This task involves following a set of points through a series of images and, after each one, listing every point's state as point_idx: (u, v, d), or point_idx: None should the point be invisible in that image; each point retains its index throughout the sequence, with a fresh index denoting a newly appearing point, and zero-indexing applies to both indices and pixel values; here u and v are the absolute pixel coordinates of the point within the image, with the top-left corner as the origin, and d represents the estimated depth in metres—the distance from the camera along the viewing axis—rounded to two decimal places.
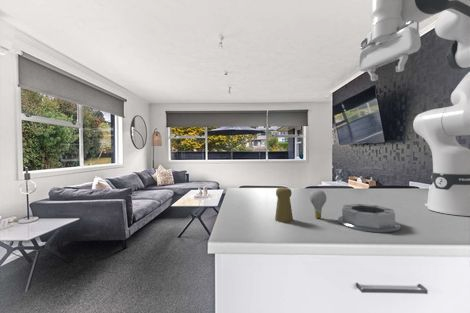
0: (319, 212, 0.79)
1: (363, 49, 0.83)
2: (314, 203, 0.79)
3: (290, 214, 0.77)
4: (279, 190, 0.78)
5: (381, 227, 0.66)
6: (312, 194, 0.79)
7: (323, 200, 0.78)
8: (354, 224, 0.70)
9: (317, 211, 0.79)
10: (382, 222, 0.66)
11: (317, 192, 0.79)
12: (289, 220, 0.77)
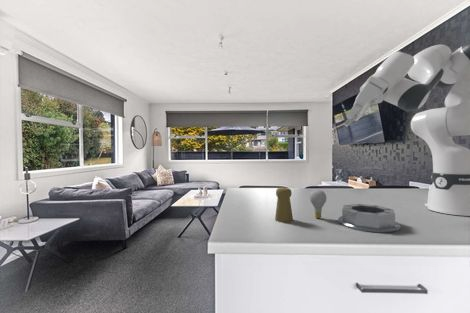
0: (319, 212, 0.79)
1: (380, 92, 0.76)
2: (314, 203, 0.79)
3: (290, 214, 0.77)
4: (279, 190, 0.78)
5: (381, 227, 0.66)
6: (312, 194, 0.79)
7: (323, 200, 0.78)
8: (354, 224, 0.70)
9: (317, 211, 0.79)
10: (382, 222, 0.66)
11: (317, 192, 0.79)
12: (289, 220, 0.77)
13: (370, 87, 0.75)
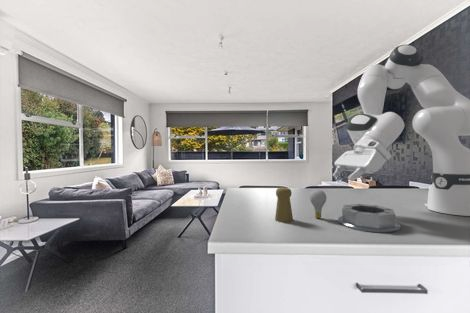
0: (319, 212, 0.79)
1: None
2: (314, 203, 0.79)
3: (290, 214, 0.77)
4: (279, 190, 0.78)
5: (381, 227, 0.66)
6: (312, 194, 0.79)
7: (323, 200, 0.78)
8: (354, 224, 0.70)
9: (317, 211, 0.79)
10: (382, 222, 0.66)
11: (317, 192, 0.79)
12: (289, 220, 0.77)
13: (378, 156, 0.73)
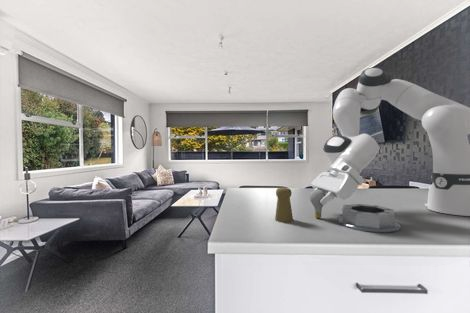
0: (319, 212, 0.79)
1: None
2: (314, 203, 0.79)
3: (290, 214, 0.77)
4: (279, 190, 0.78)
5: (381, 227, 0.66)
6: (312, 194, 0.79)
7: None
8: (354, 224, 0.70)
9: (317, 211, 0.79)
10: (382, 222, 0.66)
11: (317, 192, 0.79)
12: (289, 220, 0.77)
13: (351, 182, 0.71)
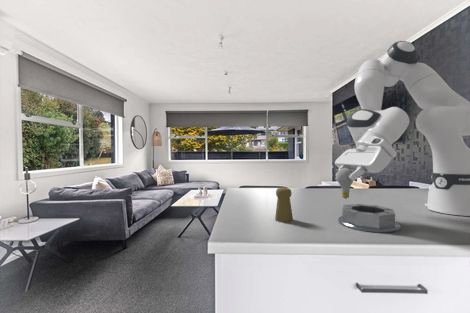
0: (347, 192, 0.75)
1: None
2: (342, 182, 0.75)
3: (290, 214, 0.77)
4: (279, 190, 0.78)
5: (381, 227, 0.66)
6: (339, 173, 0.75)
7: None
8: (354, 224, 0.70)
9: (345, 191, 0.75)
10: (382, 222, 0.66)
11: (345, 170, 0.74)
12: (289, 220, 0.77)
13: (384, 154, 0.67)
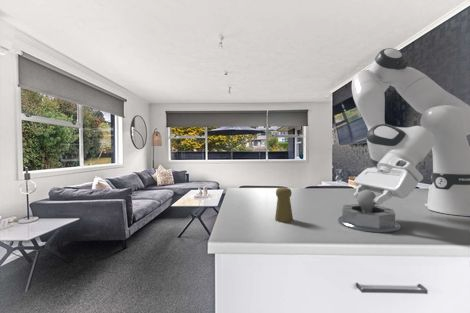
0: None
1: None
2: (363, 205, 0.72)
3: (290, 214, 0.77)
4: (279, 190, 0.78)
5: (381, 227, 0.66)
6: (361, 195, 0.73)
7: None
8: (354, 224, 0.70)
9: None
10: (382, 222, 0.66)
11: (367, 193, 0.72)
12: (289, 220, 0.77)
13: (410, 179, 0.65)
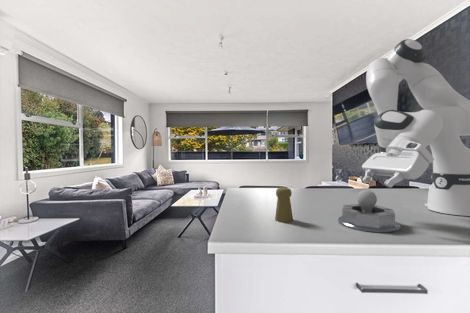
0: None
1: None
2: (364, 205, 0.73)
3: (290, 214, 0.77)
4: (279, 190, 0.78)
5: (381, 227, 0.66)
6: (361, 195, 0.73)
7: (374, 202, 0.71)
8: (354, 224, 0.70)
9: None
10: (382, 222, 0.66)
11: (367, 193, 0.72)
12: (289, 220, 0.77)
13: (422, 160, 0.65)
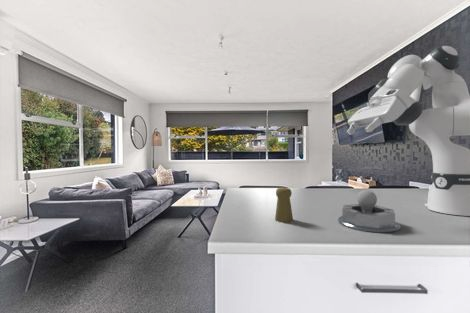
0: None
1: None
2: (364, 205, 0.72)
3: (290, 214, 0.77)
4: (279, 190, 0.78)
5: (381, 227, 0.66)
6: (361, 195, 0.73)
7: (374, 202, 0.71)
8: (354, 224, 0.70)
9: None
10: (382, 222, 0.66)
11: (367, 193, 0.72)
12: (289, 220, 0.77)
13: (399, 103, 0.68)
